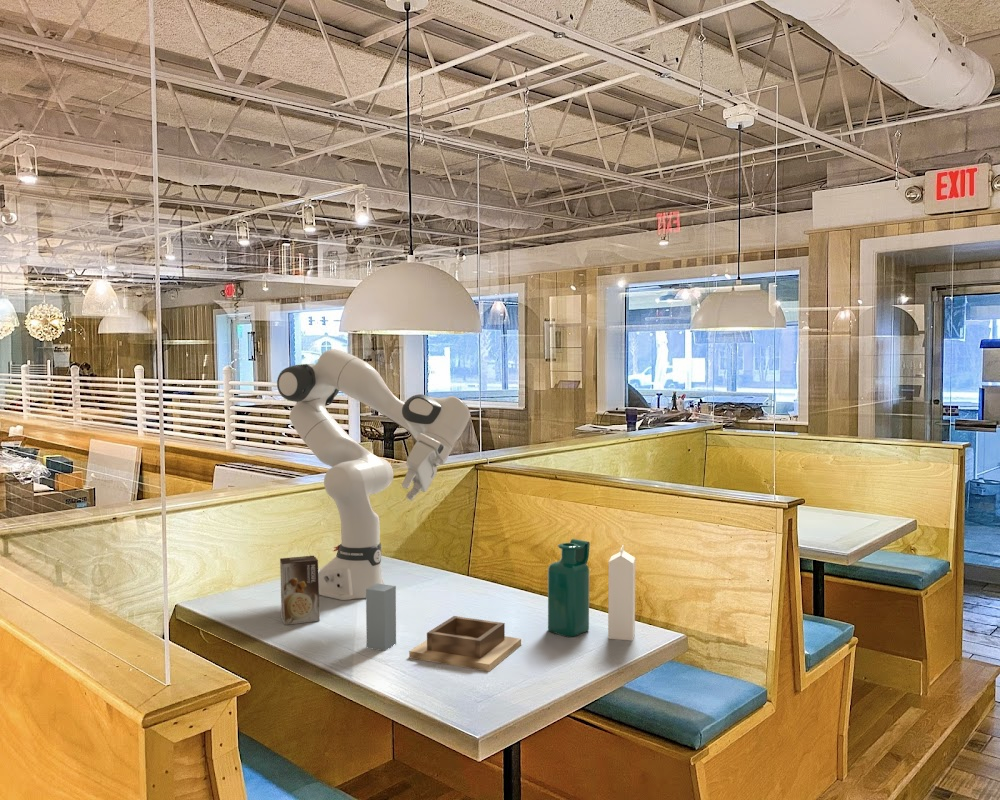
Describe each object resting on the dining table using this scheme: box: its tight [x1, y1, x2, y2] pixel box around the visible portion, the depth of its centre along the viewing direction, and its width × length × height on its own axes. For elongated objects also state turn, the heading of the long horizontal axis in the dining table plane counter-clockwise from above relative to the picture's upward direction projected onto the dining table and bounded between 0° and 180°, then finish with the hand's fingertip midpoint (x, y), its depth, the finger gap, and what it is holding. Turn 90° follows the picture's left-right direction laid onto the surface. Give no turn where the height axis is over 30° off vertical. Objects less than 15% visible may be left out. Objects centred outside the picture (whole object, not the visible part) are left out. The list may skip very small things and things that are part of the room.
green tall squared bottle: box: [547, 538, 590, 638], centre depth 201 cm, size 10×8×22 cm
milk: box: [607, 545, 636, 641], centre depth 197 cm, size 6×6×22 cm
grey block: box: [365, 583, 397, 652], centre depth 190 cm, size 5×5×14 cm
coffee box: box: [279, 555, 321, 626], centre depth 210 cm, size 9×6×16 cm
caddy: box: [408, 615, 522, 672], centre depth 187 cm, size 20×18×6 cm
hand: (406, 493), depth 213 cm, fingers open, 8 cm apart
